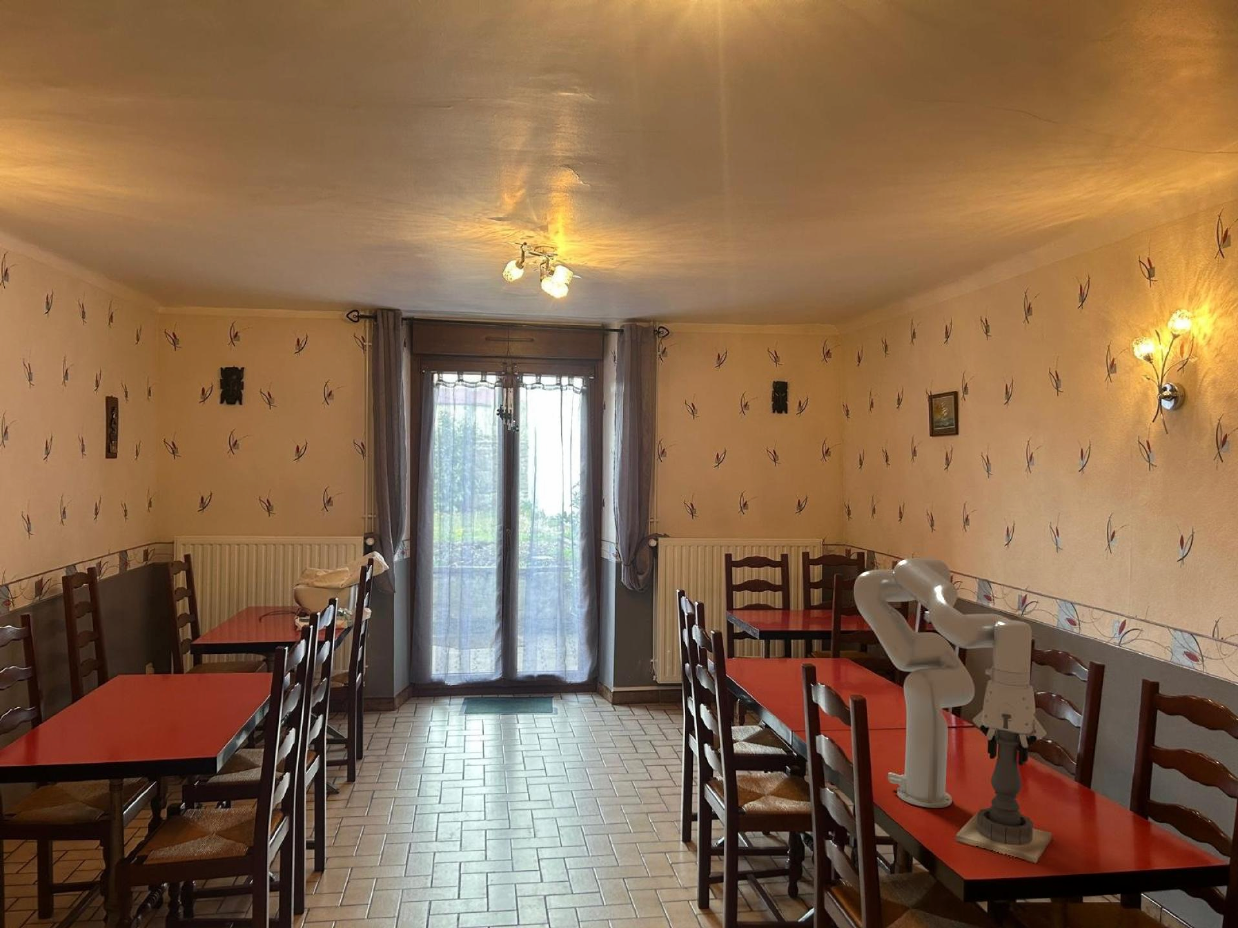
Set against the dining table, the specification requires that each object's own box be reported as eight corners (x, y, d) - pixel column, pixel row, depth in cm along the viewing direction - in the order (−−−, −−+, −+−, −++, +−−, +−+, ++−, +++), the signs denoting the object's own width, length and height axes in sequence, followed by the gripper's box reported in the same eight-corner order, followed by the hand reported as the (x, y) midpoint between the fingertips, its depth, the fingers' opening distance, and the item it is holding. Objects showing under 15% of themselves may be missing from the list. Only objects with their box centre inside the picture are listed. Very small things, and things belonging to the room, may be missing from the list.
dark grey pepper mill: (993, 817, 193) (998, 705, 193) (1023, 825, 189) (1028, 711, 189) (985, 825, 188) (990, 711, 189) (1015, 834, 185) (1020, 717, 185)
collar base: (955, 840, 187) (956, 818, 187) (975, 818, 200) (976, 797, 200) (1036, 863, 178) (1037, 840, 178) (1051, 838, 191) (1052, 817, 191)
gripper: (965, 673, 191) (961, 755, 191) (1050, 687, 181) (1046, 774, 181) (974, 667, 197) (971, 747, 197) (1057, 681, 187) (1053, 765, 187)
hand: (1007, 759), depth 189 cm, fingers closed on dark grey pepper mill, 5 cm apart
